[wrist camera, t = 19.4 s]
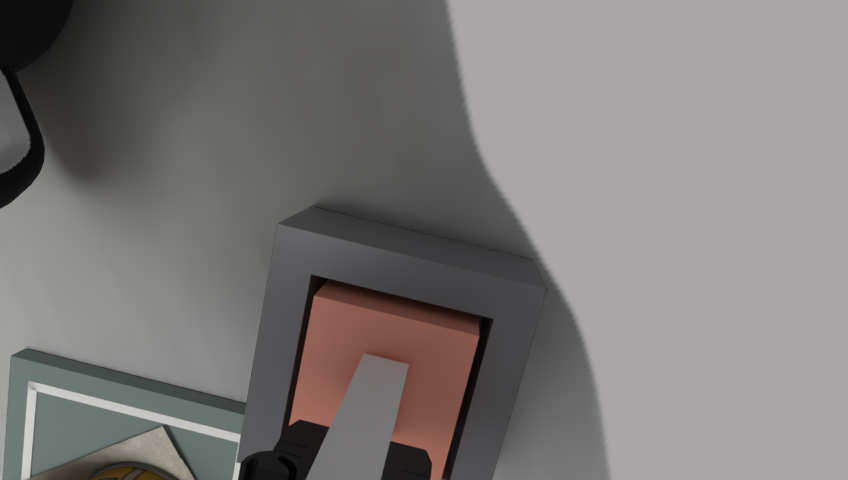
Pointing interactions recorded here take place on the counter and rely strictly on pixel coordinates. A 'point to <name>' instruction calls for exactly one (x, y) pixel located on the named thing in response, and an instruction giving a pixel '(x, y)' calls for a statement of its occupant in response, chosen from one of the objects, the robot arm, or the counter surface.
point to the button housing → (408, 277)
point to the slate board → (110, 417)
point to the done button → (396, 340)
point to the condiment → (127, 462)
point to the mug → (3, 95)
